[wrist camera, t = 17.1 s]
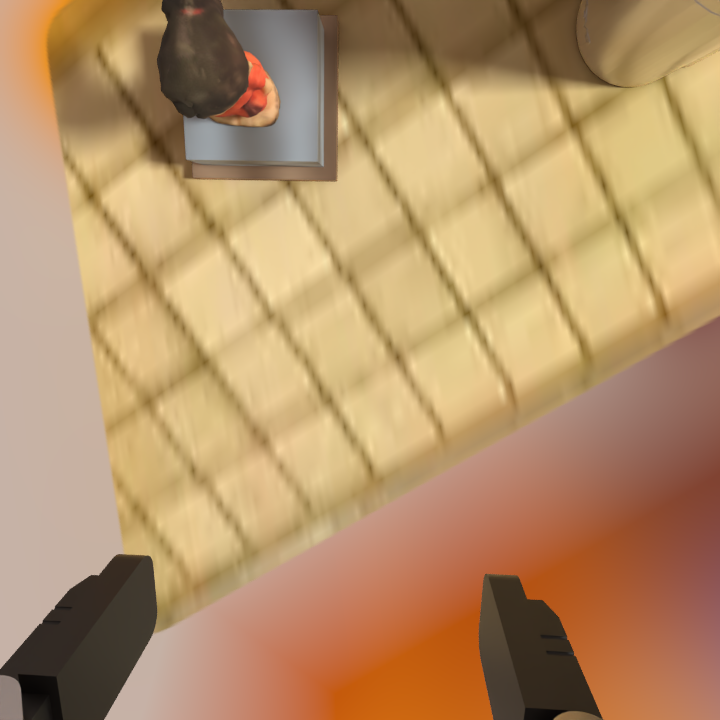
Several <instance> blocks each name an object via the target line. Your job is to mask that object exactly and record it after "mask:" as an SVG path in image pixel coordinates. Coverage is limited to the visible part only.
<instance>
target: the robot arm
mask: <svg viewBox="0 0 720 720" xmlns="http://www.w3.org/2000/svg"><path fill="white" fill-rule="evenodd" d="M576 36H577V41H578V46H579V50H580V52H581V55H582V57H583V59H584V61H585V63H586V64H587V65H588V67H589V68H590V70H591V71H592V72H593V73H595V74H596V75H597V76H598V77H599V78H600V79H602V80H604V81H606V82H608V83H610V84H613V85H617V86H622V87H637V86H642V85H646V84H650V83H652V82H654V81H656V80H658V79H660V78H662V77H664V76H666V75H668V74H670V73H672V72H674V71H676V70H677V69H679V68H681V67H683V66H687V67H688V66H691V65H693V64H695V63H697V62H699V61H701V60H703V59H705V58H706V57H708V56H710V55H712V54H714V53H716V52H718V51H720V0H582V2H581V4H580V7H579V12H578V17H577V28H576ZM156 619H157V602H156V591H155V580H154V569H153V561H152V559H151V557H150V556H144V555H124V554H118V555H116V556H115V557H114V558H113V559H112V560H111V561H110V562H109V564H108V565H107V566H106V567H105V569H104V570H103V571H102V573H100V575H99V576H98V575H91V576H89V577H88V578H86V579H85V580H83V581H82V582H80V583H79V584H77V585H76V586H74V587H73V588H71V589H70V590H69V591H68V592H67V593H66V594H65V596H64V597H63V598H62V599H61V600H60V601H59V602H58V604H57V605H56V606H55V609H54V610H52V611H51V612H50V613H49V614H48V615H47V616H46V617H45V619H44V620H43V623H42V624H39V626H38V627H37V628H36V629H35V630H34V631H33V632H32V634H31V635H30V636H29V637H28V638H27V639H26V640H25V641H24V643H23V644H22V645H21V646H20V647H19V648H18V649H17V651H16V652H15V653H14V654H13V655H12V656H11V658H10V659H9V660H8V661H7V662H6V663H5V664H4V666H3V667H2V668H1V669H0V720H104V719H105V717H106V715H107V713H108V712H109V710H110V708H111V707H112V705H113V703H114V701H115V700H116V698H117V696H118V694H119V693H120V691H121V689H122V687H123V686H124V684H125V682H126V680H127V678H128V677H129V675H130V673H131V671H132V670H133V668H134V666H135V665H136V663H137V661H138V659H139V658H140V656H141V654H142V652H143V651H144V649H145V647H146V646H147V644H148V642H149V640H150V638H151V636H152V634H153V631H154V628H155V624H156ZM479 649H480V657H481V662H482V667H483V672H484V677H485V681H486V686H487V690H488V696H489V700H490V705H491V710H492V714H493V719H494V720H603V719H602V717H601V714H600V712H599V709H598V707H597V705H596V702H595V700H594V698H593V695H592V693H591V691H590V689H589V686H588V684H587V682H586V679H585V677H584V675H583V672H582V670H581V668H580V665H579V663H578V661H577V658H576V657H575V656H574V651H573V649H572V647H571V644H570V642H569V640H567V635H566V633H565V631H564V628H563V626H562V624H561V621H560V619H559V617H558V616H557V615H556V614H555V613H554V612H553V611H552V610H551V609H550V608H549V607H548V606H547V605H546V603H545V602H544V601H542V600H529V599H527V598H526V595H525V593H524V590H523V587H522V584H521V582H520V579H519V577H518V576H515V575H495V574H485V576H484V581H483V591H482V602H481V613H480V623H479Z"/></svg>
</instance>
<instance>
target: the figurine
mask: <svg viewBox="0 0 720 720" xmlns="http://www.w3.org/2000/svg"><path fill="white" fill-rule="evenodd" d="M162 11H163V12H164V13H165V15H166V18H167V21H168V24H167V28H166V30H165V32H164V35H163V38H162V42H161V47H160V51H159V54H158V57H157V65H158V69H159V74H160V82H161V91H162V92H163V94H164V95H165V96H166V97H167V98H168V99H170V100H171V101H172V102H173V104H174V105H175V107H176V109H177V110H178V112H179V113H181V114H182V115H184V116H186V117H187V118H192V117H194V116H196V117H197V118H201V119H206V118H208V117H209V118H210V119H212V120H213V121H215V122H217V123H221V124H227V125H234V126H243V127H268V126H272V125H273V124H275V123H276V121H277V119H278V117H279V109H280V103H281V101H280V98H279V94H278V91H277V89H276V86H275V84H274V82H273V81H272V79H271V77H270V75H269V74H268V72H267V71H266V70H264V69H263V67H262V65H261V63H260V61H259V60H258V59H257V58H256V57H255V56H254V55H252V54H251V53H250V52H246V51H244V50H243V48H242V46H241V44H240V43H239V41H238V40H237V38H236V36H235V34H234V33H233V31H232V30H231V29H230V27H229V26H228V25H227V23H226V21H225V20H224V18H223V17H224V12H223V6H222V3H221V1H220V0H163V1H162Z"/></svg>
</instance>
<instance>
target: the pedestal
mask: <svg viewBox="0 0 720 720" xmlns="http://www.w3.org/2000/svg"><path fill="white" fill-rule="evenodd" d="M223 12H224V17H223V18H224V20H225V21H226V23H227V25H228V26H229V27H230V29H231V30H232V31H233V33H234V34H235V36H236V38H237V40H238V41H239V43H240V44H241V46H242V48H243V50H244V51H246V52H250V53H251V54H252V55H254V56H255V57H256V58H257V59H258V60H259V61H260V63H261V65H262V67H263V69H264V70H266V71H267V72H268V74H269V75H270V77H271V79H272V81H273V82H274V84H275V86H276V89H277V91H278V94H279V98H280V101H281V103H280V109H279V117H278V119H277V121H276V123H275V124H273V125H272V126H268V127H243V126H234V125H227V124H221V123H217V122H215V121H213V120H212V119H210V118H209V117H208V118H206V119H201V118H197V117H196V116H194V117H192V118H187V117H186V116H184V115H183V119H184V135H185V152H186V160H189V161H192V173H193V178H196V179H234V180H291V181H337V149H338V36H339V21H338V17H337V15H319V13H318V10H223Z"/></svg>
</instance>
